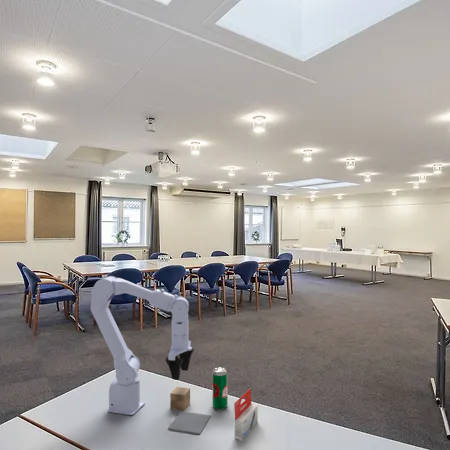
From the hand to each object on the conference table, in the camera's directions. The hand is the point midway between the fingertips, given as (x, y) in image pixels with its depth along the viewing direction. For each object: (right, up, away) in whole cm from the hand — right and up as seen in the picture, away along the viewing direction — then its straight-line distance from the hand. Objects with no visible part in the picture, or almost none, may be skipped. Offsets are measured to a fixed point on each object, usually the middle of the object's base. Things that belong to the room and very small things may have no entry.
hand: (180, 374), depth 113 cm
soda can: (+13, -10, -1) cm, 17 cm away
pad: (+4, -10, -11) cm, 15 cm away
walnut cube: (0, -10, 0) cm, 10 cm away
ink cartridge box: (+21, -10, -15) cm, 28 cm away
